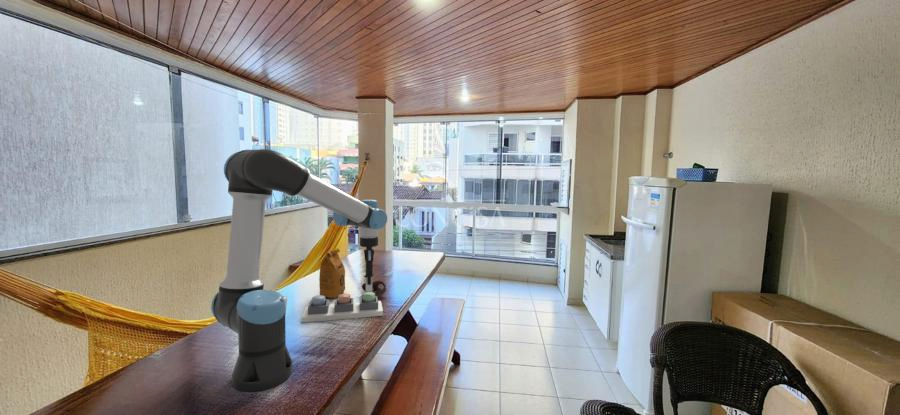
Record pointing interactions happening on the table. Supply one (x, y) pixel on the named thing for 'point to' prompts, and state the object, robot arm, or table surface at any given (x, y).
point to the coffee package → (332, 275)
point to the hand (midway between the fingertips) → (369, 291)
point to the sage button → (368, 297)
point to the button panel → (342, 310)
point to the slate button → (318, 300)
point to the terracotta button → (344, 298)
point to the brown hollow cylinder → (376, 288)
